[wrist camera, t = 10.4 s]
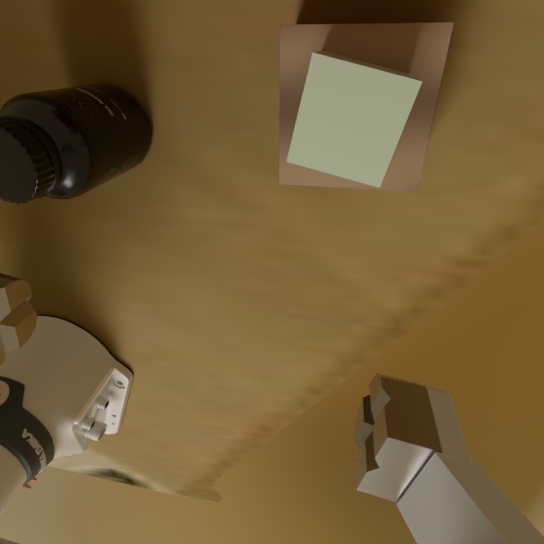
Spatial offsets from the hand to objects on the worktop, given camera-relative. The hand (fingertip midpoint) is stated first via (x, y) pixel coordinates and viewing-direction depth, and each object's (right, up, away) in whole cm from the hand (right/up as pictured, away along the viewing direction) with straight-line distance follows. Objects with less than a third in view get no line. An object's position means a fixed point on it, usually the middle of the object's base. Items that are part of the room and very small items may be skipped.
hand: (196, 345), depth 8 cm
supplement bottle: (-12, +14, +23) cm, 29 cm away
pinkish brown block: (+8, +14, +18) cm, 24 cm away
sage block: (+6, +11, +13) cm, 19 cm away
